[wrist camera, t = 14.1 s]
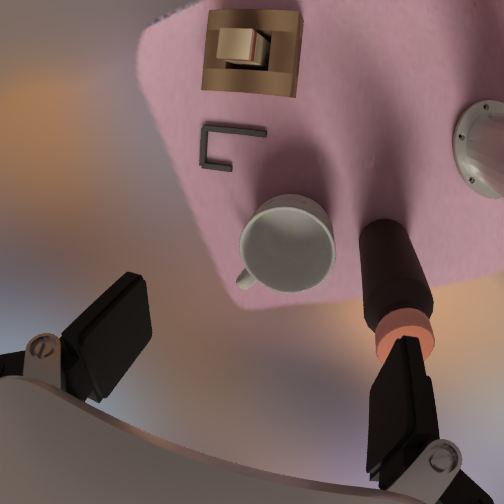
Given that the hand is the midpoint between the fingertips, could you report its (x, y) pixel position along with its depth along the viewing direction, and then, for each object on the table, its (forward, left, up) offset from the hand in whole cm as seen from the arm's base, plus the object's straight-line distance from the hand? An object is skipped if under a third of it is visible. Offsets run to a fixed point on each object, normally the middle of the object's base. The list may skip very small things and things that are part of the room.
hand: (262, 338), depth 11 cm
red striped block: (+9, -13, -30) cm, 34 cm away
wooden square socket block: (+9, -13, -30) cm, 34 cm away
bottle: (-10, +8, -31) cm, 33 cm away
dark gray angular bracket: (+11, -1, -30) cm, 32 cm away
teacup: (+3, +10, -31) cm, 32 cm away
